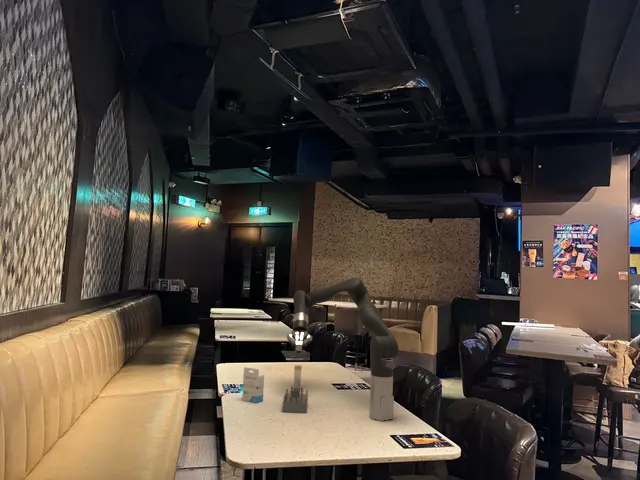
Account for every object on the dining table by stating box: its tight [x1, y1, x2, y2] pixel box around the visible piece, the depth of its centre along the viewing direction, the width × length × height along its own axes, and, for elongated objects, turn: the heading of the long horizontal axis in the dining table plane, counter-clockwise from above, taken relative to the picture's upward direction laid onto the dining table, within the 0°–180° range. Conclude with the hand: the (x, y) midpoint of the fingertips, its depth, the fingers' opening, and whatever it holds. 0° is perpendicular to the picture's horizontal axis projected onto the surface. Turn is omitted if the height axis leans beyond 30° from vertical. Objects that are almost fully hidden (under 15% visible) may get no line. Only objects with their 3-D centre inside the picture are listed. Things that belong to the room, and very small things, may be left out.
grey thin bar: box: [293, 364, 303, 391], centre depth 207 cm, size 1×3×11 cm, turn 90°
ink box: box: [241, 366, 265, 404], centre depth 209 cm, size 9×5×15 cm, turn 62°
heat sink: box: [282, 385, 309, 414], centre depth 201 cm, size 15×10×9 cm, turn 0°
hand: (298, 352), depth 218 cm, fingers closed
